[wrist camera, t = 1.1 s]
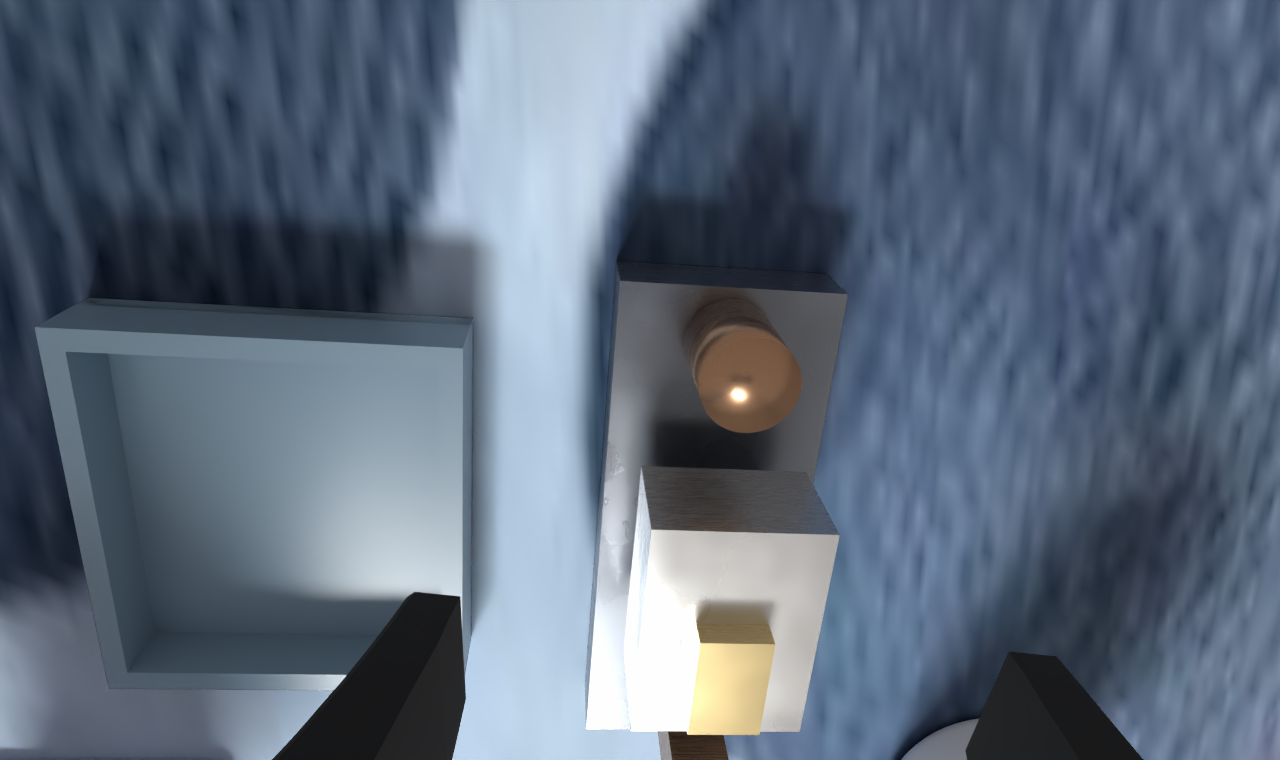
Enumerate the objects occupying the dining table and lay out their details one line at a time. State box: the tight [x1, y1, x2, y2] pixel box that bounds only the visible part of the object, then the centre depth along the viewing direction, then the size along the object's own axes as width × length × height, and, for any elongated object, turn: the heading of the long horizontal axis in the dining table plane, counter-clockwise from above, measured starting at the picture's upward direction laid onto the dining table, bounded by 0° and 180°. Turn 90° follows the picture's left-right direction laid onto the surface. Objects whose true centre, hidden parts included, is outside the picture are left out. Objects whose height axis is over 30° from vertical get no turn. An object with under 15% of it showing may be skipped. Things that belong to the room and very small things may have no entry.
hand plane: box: [585, 261, 848, 760], centre depth 24 cm, size 15×6×6 cm, turn 175°
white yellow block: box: [624, 466, 839, 735], centre depth 21 cm, size 6×4×4 cm
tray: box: [35, 298, 473, 690], centre depth 24 cm, size 11×10×2 cm
